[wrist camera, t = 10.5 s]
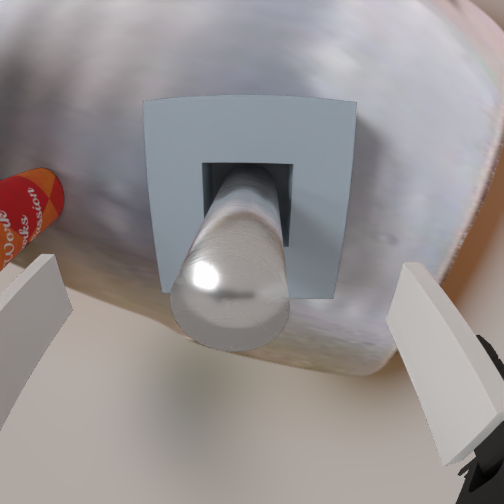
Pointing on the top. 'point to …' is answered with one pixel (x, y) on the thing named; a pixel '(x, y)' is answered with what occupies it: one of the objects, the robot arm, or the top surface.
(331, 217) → the socket block
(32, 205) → the paper cup
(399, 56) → the top surface
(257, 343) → the pin
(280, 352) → the top surface
